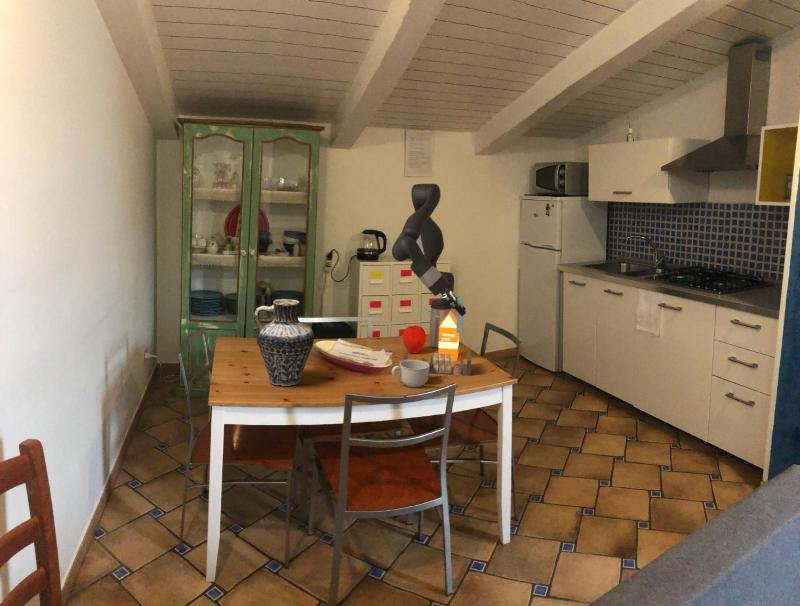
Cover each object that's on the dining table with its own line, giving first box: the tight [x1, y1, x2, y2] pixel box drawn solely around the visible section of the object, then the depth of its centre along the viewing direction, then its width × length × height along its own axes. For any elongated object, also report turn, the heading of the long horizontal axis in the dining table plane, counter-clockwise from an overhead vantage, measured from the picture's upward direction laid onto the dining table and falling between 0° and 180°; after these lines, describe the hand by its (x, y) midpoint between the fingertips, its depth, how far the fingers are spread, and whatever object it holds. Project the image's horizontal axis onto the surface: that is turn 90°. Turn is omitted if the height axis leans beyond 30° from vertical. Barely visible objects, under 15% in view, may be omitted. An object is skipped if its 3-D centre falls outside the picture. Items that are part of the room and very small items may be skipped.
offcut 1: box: [433, 352, 439, 372], centre depth 258 cm, size 2×10×5 cm, turn 175°
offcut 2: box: [439, 353, 445, 373], centre depth 258 cm, size 2×10×5 cm, turn 175°
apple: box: [402, 324, 427, 354], centre depth 284 cm, size 10×10×12 cm
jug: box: [253, 298, 315, 387], centre depth 236 cm, size 21×19×30 cm
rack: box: [401, 350, 472, 377], centre depth 258 cm, size 26×14×7 cm, turn 85°
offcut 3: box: [445, 353, 452, 373], centre depth 258 cm, size 2×10×5 cm, turn 175°
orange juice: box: [438, 311, 460, 362], centre depth 274 cm, size 8×9×20 cm
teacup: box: [391, 359, 430, 388], centre depth 240 cm, size 14×11×8 cm
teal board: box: [456, 295, 464, 334], centre depth 254 cm, size 2×6×13 cm, turn 175°
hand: (464, 312), depth 254 cm, fingers closed on teal board, 6 cm apart
